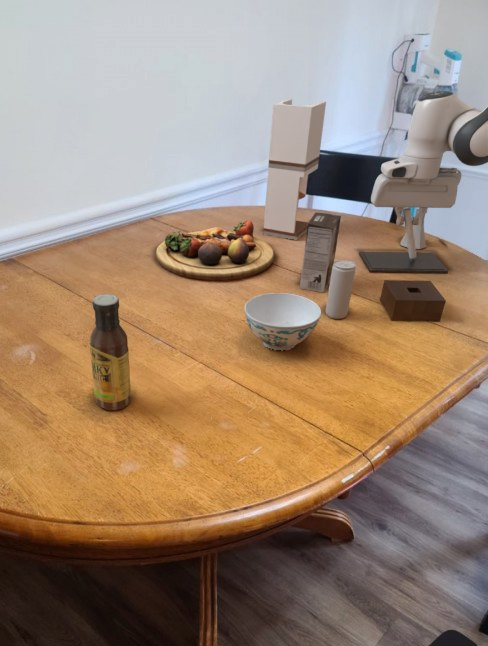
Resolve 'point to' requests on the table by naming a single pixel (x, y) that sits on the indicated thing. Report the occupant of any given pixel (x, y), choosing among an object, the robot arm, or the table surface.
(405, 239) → the flask
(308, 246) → the coffee box
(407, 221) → the stylus
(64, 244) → the table surface
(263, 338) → the chinaware
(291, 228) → the coffee grinder
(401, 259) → the tablet
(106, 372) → the sauce bottle
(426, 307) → the stand
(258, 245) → the wooden plate
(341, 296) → the beverage can
